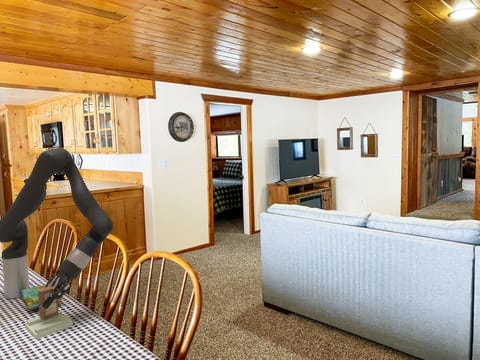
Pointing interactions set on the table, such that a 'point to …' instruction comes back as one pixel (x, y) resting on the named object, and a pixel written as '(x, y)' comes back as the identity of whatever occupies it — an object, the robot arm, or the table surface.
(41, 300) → the wooden block
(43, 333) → the plinth
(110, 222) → the robot arm
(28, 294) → the puzzle game
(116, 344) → the table surface
